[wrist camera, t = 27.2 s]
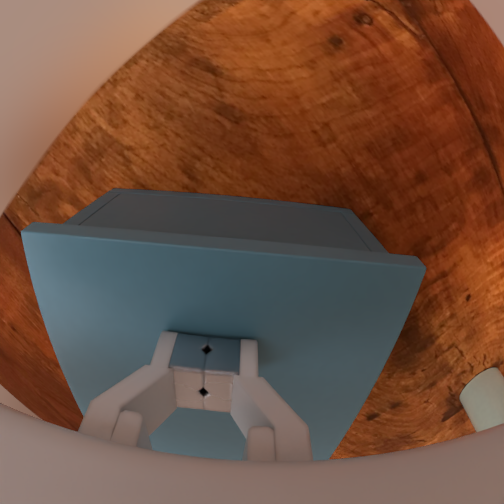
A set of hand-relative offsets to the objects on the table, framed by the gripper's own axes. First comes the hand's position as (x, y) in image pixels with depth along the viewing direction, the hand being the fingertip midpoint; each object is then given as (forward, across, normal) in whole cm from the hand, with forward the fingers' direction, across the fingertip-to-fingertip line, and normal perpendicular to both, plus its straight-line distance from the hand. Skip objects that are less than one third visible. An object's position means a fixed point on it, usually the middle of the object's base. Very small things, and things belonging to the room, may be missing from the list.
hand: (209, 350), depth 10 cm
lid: (+1, 0, +4) cm, 4 cm away
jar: (+8, -26, +13) cm, 30 cm away
